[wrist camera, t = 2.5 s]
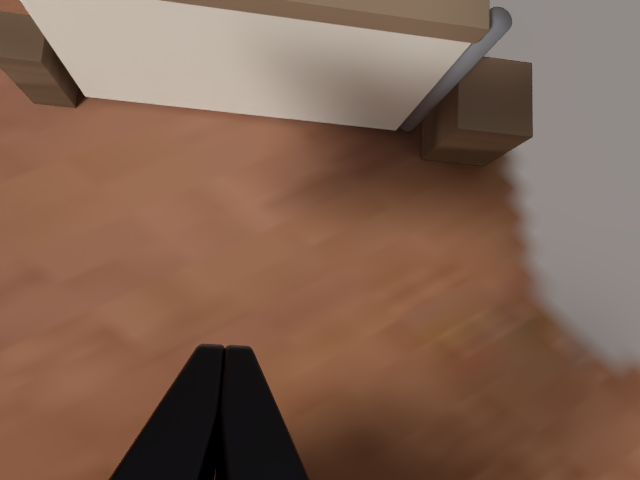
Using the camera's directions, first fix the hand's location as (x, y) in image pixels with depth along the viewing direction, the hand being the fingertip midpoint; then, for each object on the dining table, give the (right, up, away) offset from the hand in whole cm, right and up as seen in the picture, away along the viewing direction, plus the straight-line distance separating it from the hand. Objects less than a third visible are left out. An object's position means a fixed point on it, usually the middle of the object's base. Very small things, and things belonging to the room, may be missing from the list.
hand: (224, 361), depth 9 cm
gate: (-1, +8, +14) cm, 16 cm away
